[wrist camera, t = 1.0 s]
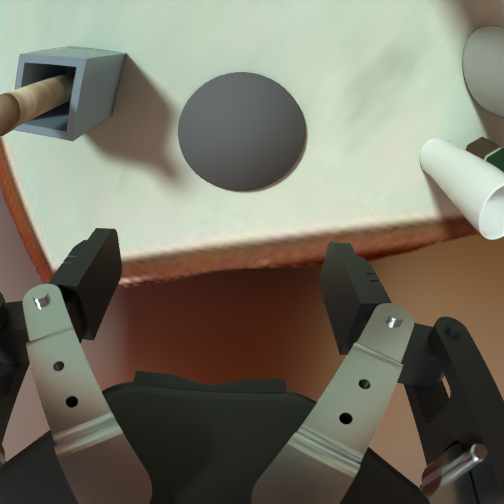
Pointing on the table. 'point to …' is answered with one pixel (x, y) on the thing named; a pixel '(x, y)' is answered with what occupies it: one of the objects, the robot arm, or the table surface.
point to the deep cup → (84, 88)
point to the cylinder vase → (486, 67)
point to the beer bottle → (488, 152)
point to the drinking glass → (467, 184)
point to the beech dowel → (34, 100)
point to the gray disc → (241, 131)
